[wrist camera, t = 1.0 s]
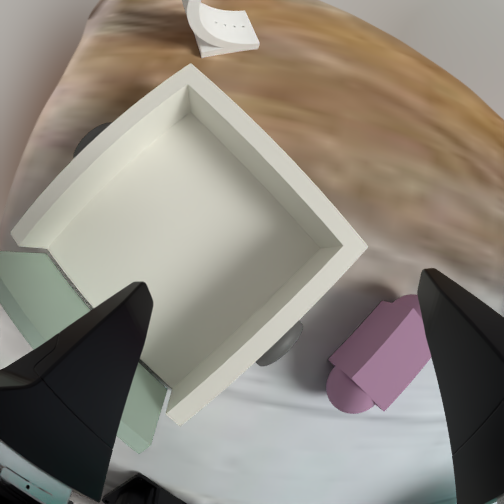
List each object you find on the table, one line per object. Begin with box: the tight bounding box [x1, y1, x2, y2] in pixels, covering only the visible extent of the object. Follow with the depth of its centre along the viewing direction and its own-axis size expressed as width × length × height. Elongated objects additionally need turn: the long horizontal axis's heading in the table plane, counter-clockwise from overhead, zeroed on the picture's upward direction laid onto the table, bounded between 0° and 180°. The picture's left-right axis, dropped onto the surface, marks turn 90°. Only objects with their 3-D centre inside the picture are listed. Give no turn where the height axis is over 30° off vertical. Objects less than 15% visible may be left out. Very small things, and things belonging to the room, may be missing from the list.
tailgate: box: [0, 251, 167, 454], centre depth 16 cm, size 1×13×8 cm, turn 43°
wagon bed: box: [10, 63, 368, 426], centre depth 19 cm, size 16×19×5 cm
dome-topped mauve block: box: [326, 295, 431, 414], centre depth 21 cm, size 11×4×4 cm, turn 133°
